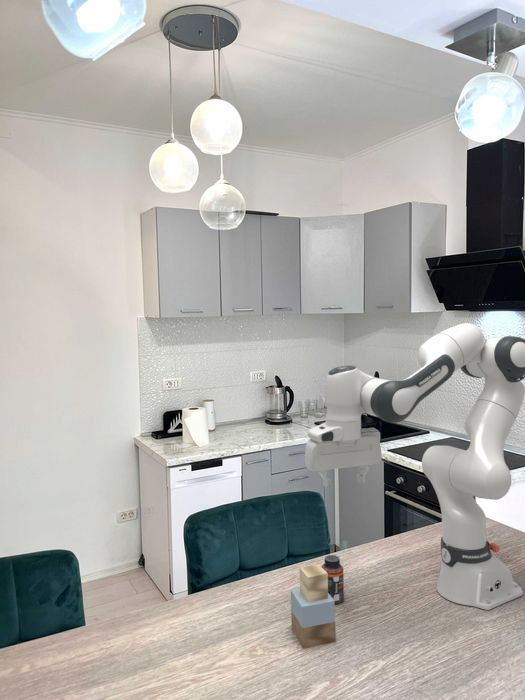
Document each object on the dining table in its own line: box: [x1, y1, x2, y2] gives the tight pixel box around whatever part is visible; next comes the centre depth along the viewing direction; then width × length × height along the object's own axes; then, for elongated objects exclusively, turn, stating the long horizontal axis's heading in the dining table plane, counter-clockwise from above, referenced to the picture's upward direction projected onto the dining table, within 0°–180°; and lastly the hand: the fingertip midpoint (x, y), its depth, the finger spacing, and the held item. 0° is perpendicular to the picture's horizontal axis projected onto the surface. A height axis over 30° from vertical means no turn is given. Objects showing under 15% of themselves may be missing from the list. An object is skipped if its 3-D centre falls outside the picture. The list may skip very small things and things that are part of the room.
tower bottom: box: [290, 609, 337, 649], centre depth 123 cm, size 8×8×5 cm
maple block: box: [299, 563, 328, 603], centre depth 122 cm, size 5×5×6 cm
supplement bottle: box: [321, 554, 345, 605], centre depth 138 cm, size 6×6×11 cm
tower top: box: [290, 587, 336, 628], centre depth 123 cm, size 8×8×5 cm
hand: (344, 484), depth 131 cm, fingers open, 8 cm apart
